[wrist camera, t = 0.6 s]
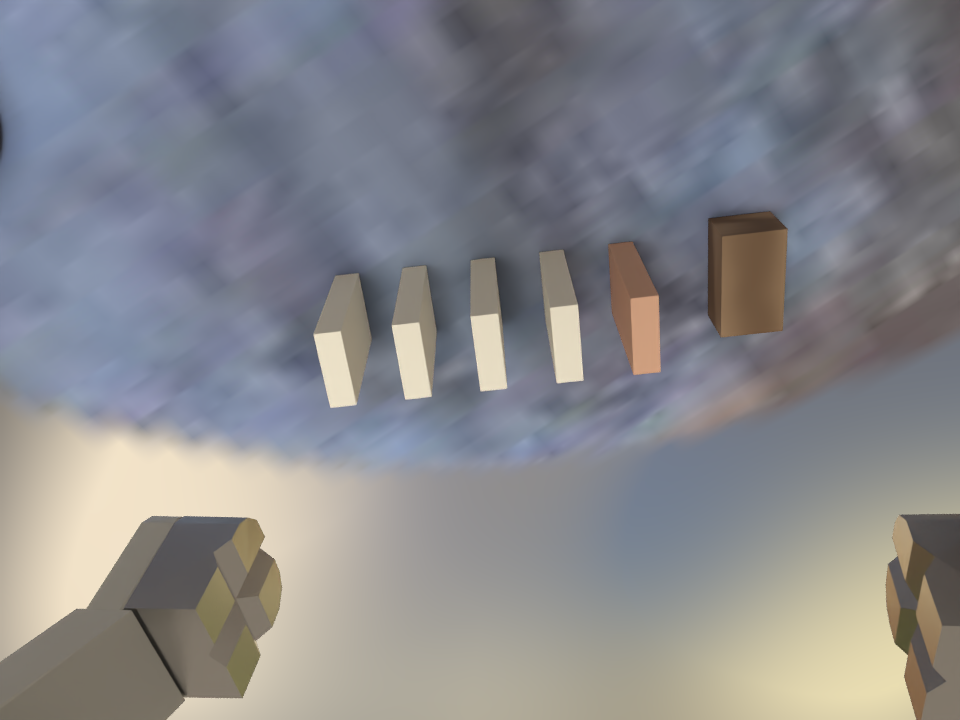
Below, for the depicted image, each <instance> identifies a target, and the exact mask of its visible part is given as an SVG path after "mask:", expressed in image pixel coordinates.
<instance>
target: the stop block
mask: <svg viewBox="0 0 960 720" xmlns="http://www.w3.org/2000/svg"><path fill="white" fill-rule="evenodd" d="M787 230H788V229H787V228H786V227H785V226H784V225H783V224H782V223H781V222H780V221H779V220H778V219H777V218H776V217H775V216H774V215H773V214H772V213H771V212H770V211H769V212H760V213H752V214H743V215H735V216H726V217H717V218H709V219H708V316H709V318H710V319H711V321H712V323H713V325H714V326H715V328H716V330H717V331H718V333H719V335H720V337H729V336H739V335H748V334H757V333H766V332H775V331H783V312H784V292H785V271H786V251H787Z"/></svg>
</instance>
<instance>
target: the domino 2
mask: <svg viewBox="0 0 960 720" xmlns="http://www.w3.org/2000/svg"><path fill="white" fill-rule="evenodd" d="M392 330H393V335H394V340H395V346H396V351H397V357H398V362H399V368H400V373H401V378H402V384H403V389H404V395H405V400H406V399H415V398H424V397H432V385H433V373H434V360H435V348H436V335H437V330H436V324H435V318H434V311H433V305H432V299H431V292H430V286H429V280H428V274H427V267H426V265H425V266H416V267H407V268H403V269H402V274H401V279H400V284H399V290H398V295H397V300H396V306H395V311H394V316H393V321H392Z"/></svg>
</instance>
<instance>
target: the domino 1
mask: <svg viewBox="0 0 960 720" xmlns="http://www.w3.org/2000/svg"><path fill="white" fill-rule="evenodd" d="M313 335H314V339H315V343H316V347H317V352H318V356H319V360H320V365H321V369H322V373H323V377H324V382H325V386H326V390H327V395H328V399H329V403H330V407H331V408H332V407H342V406H351V405H357V401H358V396H359V392H360V388H361V383H362V379H363V375H364V370H365V366H366V362H367V358H368V353H369V349H370V345H371V340H372V338H371V333H370V328H369V323H368V318H367V313H366V308H365V303H364V298H363V293H362V288H361V283H360V278H359V273H355V274H347V275H338V276H335V278H334V280H333V283H332V286H331V289H330V291H329V294H328V297H327V299H326V302H325V305H324V307H323V310H322V313H321V315H320V318H319V321H318V323H317V326H316V329H315V332H314V334H313Z"/></svg>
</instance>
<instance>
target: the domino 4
mask: <svg viewBox="0 0 960 720" xmlns="http://www.w3.org/2000/svg"><path fill="white" fill-rule="evenodd" d="M539 256H540V267H541V277H542V288H543V299H544V310H545V320H546V326H547V331H548V337H549V343H550V348H551V354H552V359H553V365H554V371H555V376H556V382H557V383H564V382H573V381H582V380H583V368H582V354H581V341H580V327H579V313H578V303H577V299H576V296H575V292H574V288H573V285H572V281H571V277H570V273H569V270H568V266H567V262H566V258H565V255H564V251H563V250H555V251H547V252H539Z"/></svg>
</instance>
